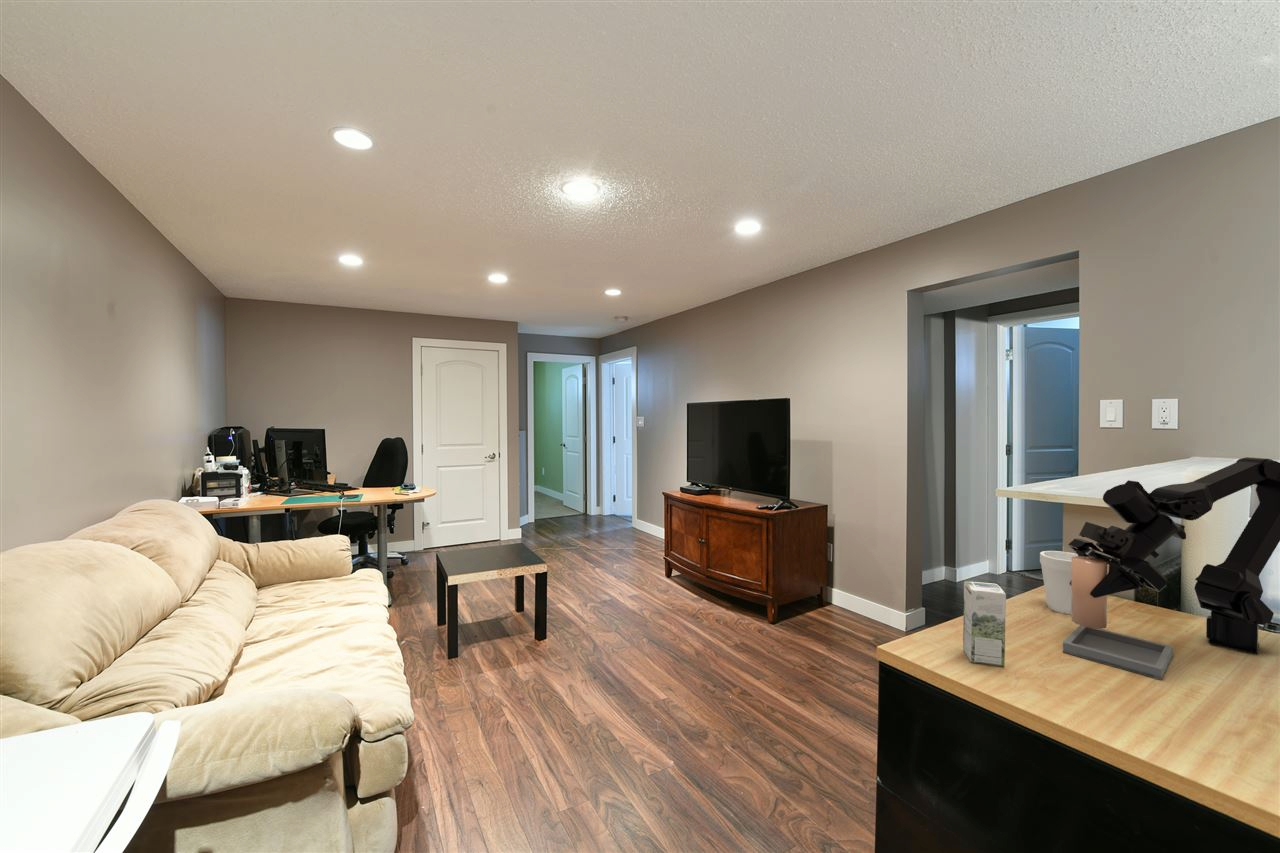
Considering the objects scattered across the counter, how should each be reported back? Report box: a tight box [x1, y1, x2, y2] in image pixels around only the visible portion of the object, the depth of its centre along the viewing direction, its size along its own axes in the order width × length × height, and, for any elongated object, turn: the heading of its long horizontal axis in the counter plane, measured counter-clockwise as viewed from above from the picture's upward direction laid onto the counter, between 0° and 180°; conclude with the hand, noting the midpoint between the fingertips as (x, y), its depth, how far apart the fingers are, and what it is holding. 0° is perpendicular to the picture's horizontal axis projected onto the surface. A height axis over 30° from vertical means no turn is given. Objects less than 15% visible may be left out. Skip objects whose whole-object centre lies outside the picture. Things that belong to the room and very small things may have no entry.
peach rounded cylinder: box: [1070, 556, 1108, 629], centre depth 106 cm, size 6×6×13 cm
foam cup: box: [1039, 550, 1078, 615], centre depth 126 cm, size 10×9×13 cm
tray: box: [1062, 625, 1174, 681], centre depth 103 cm, size 14×14×2 cm
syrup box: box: [962, 580, 1007, 667], centre depth 101 cm, size 6×6×14 cm
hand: (1081, 590), depth 106 cm, fingers closed on peach rounded cylinder, 5 cm apart
